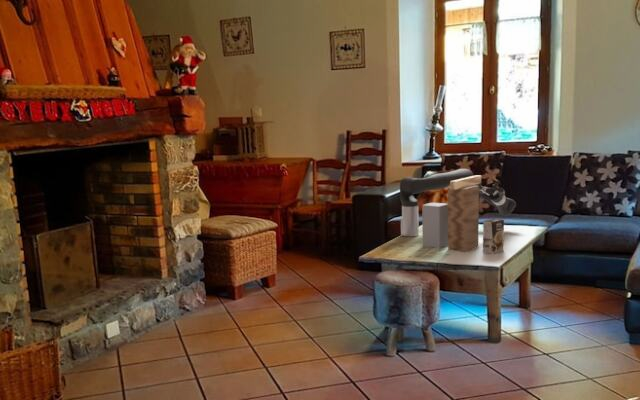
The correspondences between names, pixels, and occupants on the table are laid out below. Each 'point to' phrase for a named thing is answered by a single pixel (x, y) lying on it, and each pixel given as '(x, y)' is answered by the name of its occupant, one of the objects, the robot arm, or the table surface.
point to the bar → (465, 182)
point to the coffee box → (493, 236)
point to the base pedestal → (435, 224)
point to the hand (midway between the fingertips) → (485, 185)
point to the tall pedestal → (463, 218)
